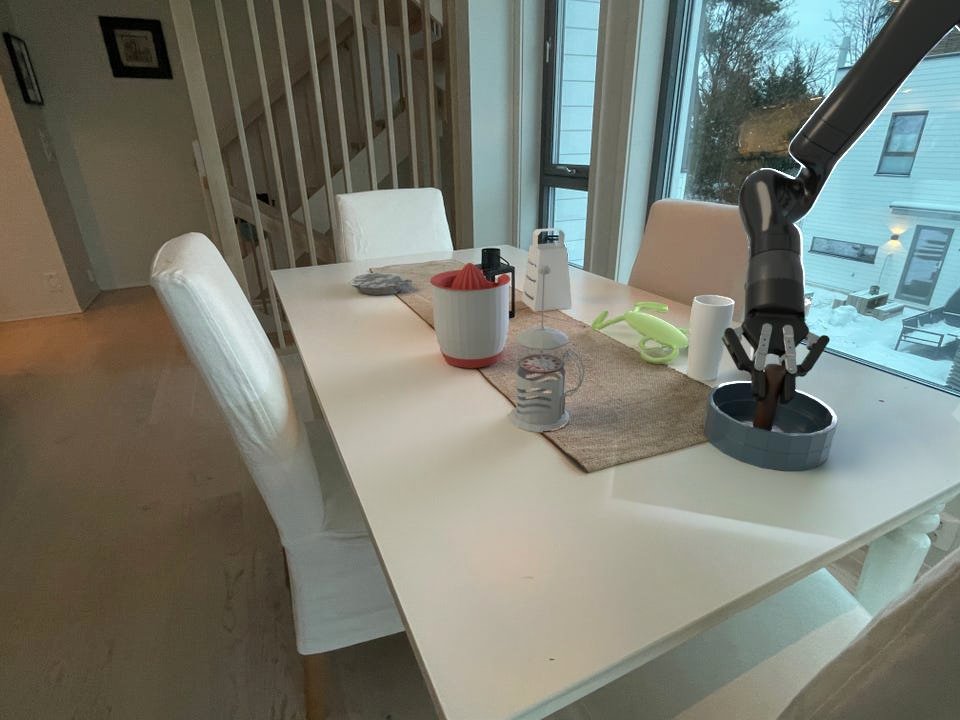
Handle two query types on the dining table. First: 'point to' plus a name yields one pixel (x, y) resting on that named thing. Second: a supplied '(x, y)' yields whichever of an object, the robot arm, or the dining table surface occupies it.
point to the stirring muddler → (769, 399)
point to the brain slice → (380, 283)
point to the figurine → (650, 330)
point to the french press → (547, 406)
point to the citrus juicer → (470, 316)
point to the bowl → (789, 451)
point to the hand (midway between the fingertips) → (772, 400)
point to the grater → (547, 275)
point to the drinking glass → (707, 335)
